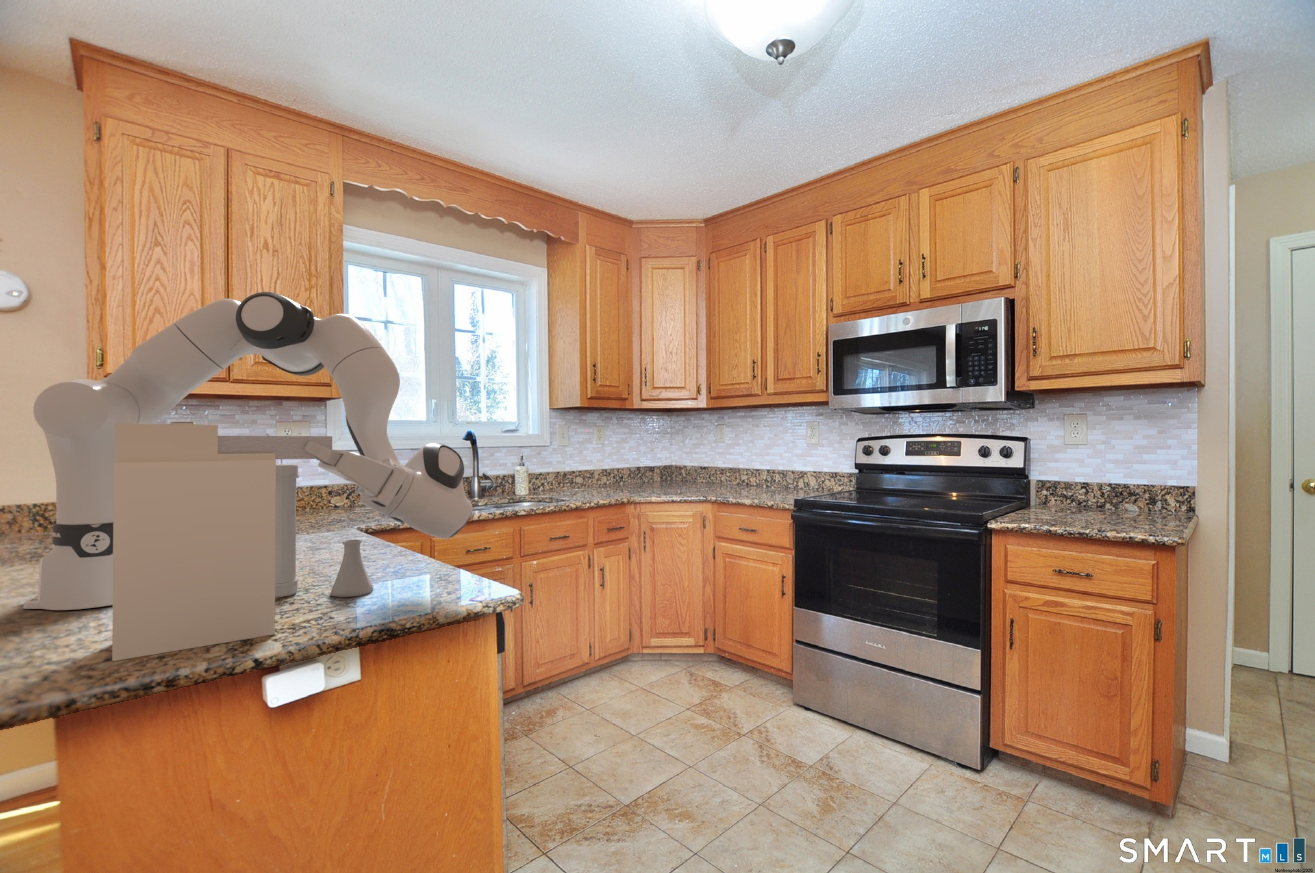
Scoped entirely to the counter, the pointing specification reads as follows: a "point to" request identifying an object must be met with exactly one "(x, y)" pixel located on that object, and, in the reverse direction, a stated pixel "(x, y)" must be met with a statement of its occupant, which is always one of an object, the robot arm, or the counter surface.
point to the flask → (351, 573)
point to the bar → (272, 445)
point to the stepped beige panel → (190, 540)
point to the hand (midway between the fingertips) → (303, 444)
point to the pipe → (285, 530)
